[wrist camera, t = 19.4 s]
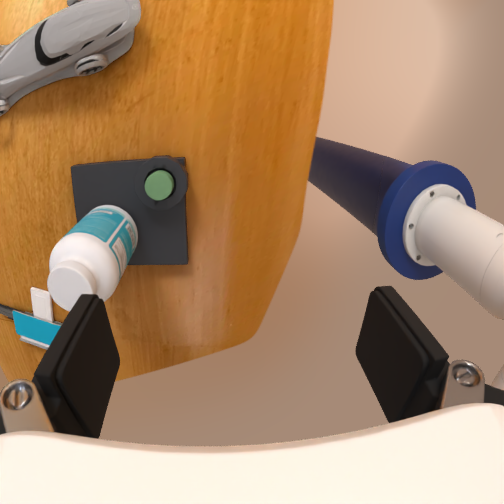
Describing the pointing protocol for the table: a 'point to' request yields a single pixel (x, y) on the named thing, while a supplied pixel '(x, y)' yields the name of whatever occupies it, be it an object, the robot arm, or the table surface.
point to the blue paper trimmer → (35, 320)
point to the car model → (67, 46)
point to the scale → (139, 204)
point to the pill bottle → (92, 256)
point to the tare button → (159, 185)
